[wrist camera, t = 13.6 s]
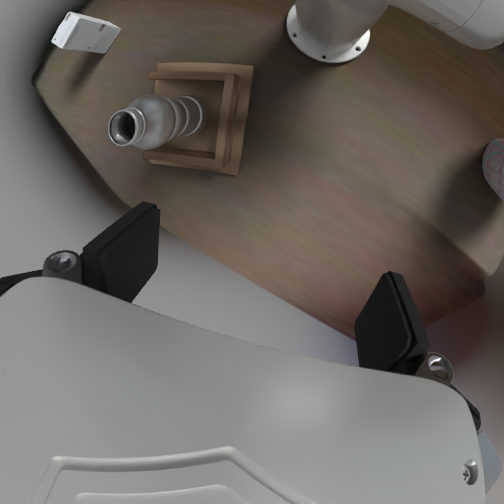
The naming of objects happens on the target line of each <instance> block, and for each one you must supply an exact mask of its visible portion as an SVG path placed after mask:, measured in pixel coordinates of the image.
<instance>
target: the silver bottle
mask: <svg viewBox="0 0 504 504" xmlns="http://www.w3.org/2000/svg"><path fill="white" fill-rule="evenodd" d="M208 120H209V109H208V106H207V104H206V103H205V102H204V100H202V99H201V98H199V97H197V96H195V95H183V96H179V97H177V98H167V97H164V96H161V95H157V94H145V95H142V96H140V97H139V98H137V99H135V100H134V101H133V102H132V103H130V105H129V106H128V107H127V108H126V109H123V110H119V111H117V112H116V113H114V114H113V115H112V117H111V118H110V121H109V124H108V134H109V137H110V139H111V140H112V142H113V143H114V144H116V145H118V146H127V145H134V146H136V147H138V148H142V149H154V148H157V147H159V146H161V145H163V144H164V143H166V142H167V141H168V140H170V139H171V138H174V137H176V136H181V137H190V136H194V135H196V134H198V133H199V132H200V131H202V130H203V129H204V128H205V126H206V125H207V123H208Z"/></svg>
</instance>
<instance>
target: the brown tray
mask: <svg viewBox="0 0 504 504" xmlns="http://www.w3.org/2000/svg"><path fill="white" fill-rule="evenodd" d="M254 69H255V67H254V66H249V65H238V64H223V63H190V62H187V63H158V64H157V72H150V74H149V79H150V80H155V89H154V94H157V95H161V96H164V97H167V98H177V97H179V96H183V95H195V96H197V97H199V98H201V99H202V100H204V102H205V103H206V104H207V106H208V109H209V120H208V123H207V125H206V126H205V128H204V129H203V130H202V131H200V132H199V133H198V134H196V135H194V136H190V137H181V136H176V137H174V138H171V139H170V140H168V141H167V142H166V143H164V144H163V145H161V146H159V147H157V148H154V149H149V150H146V151H144V152H143V159H150V163H152V164H161V165H169V166H177V167H185V168H192V169H199V170H206V171H213V172H219V173H225V174H231V175H237V176H238V175H239V171H240V164H241V156H242V149H243V142H244V135H245V128H246V121H247V115H248V108H249V101H250V95H251V88H252V82H253V76H254Z"/></svg>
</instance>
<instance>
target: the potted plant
mask: <svg viewBox="0 0 504 504" xmlns="http://www.w3.org/2000/svg"><path fill="white" fill-rule="evenodd" d="M482 169H483V175H484V177H485V179H486V181H487V182H488V184H489V185H490V186H491V188H492V189H493V190H494V191H495V192H496V194H497V195H498V196H499V197H500V199H501V200H502V201H503V202H504V138H500V139H495V140H493V141H491V142H490V143H489V144H488V146H487V147H486V149H485V151H484V154H483V161H482Z"/></svg>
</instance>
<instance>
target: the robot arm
mask: <svg viewBox="0 0 504 504" xmlns="http://www.w3.org/2000/svg"><path fill="white" fill-rule="evenodd" d="M388 4H389V5H393V6H396V7H398V8H400V9H402V10H404V11H406V12H408V13H410V14H412V15H414V16H416V17H418V18H420V19H421V20H423V21H425V22H427V23H429V24H430V25H432V26H434V27H436V28H437V29H439V30H441V31H442V32H444V33H446V34H447V35H449V36H450V37H452V38H454V39H456V40H457V41H459V42H461V43H463V44H465V45H467V46H469V47H472V48H475V49H490V48H493V47H496V46H497V45H499V44H501V43H502V42H503V41H504V0H295V4H294V5H293V6H292V8H291V9H290V11H289V13H288V16H287V31H288V34H289V37H290V38H291V40H292V42H293V43H294V45H295V46H296V47H297V48H298V49H299V50H300V51H301V52H302V53H304V54H305V55H307V56H309V57H310V58H313V59H315V60H318V61H321V62H326V63H342V62H347V61H350V60H352V59H354V58H356V57H357V56H359V55H360V54H361V53H362V52H363V51H364V50H365V48H366V47H367V45H368V42H369V39H370V28H371V27H372V25H373V24H374V23H375V22H376V21H377V20H378V19H379V18H380V17H381V15H382V14H383V13H384V12H385V10H386V9H387V7H388ZM293 35H296V37H293ZM356 49H358V50H359V51H356ZM322 56H325V57H326V58H325V59H323V58H322ZM159 225H160V209H157V205H156V204H152V203H148V202H144V201H143V202H141V203H140V204H139V205H137V206H136V207H134V208H133V209H132V210H130V211H129V212H128V213H126V214H125V215H124V216H122V217H121V218H120V219H118V220H117V221H116V222H114V223H113V224H112V225H111V226H109V227H108V228H107V229H106V230H104V231H103V232H102V233H100V234H99V235H98V236H97V237H95V238H94V239H93V240H92V241H90V242H89V243H88V244H87V245H86V246H84V247H83V253H82V254H80V255H78V254H77V253H76V252H74V251H70V250H62V251H57V252H55V253H53V254H51V255H50V256H48V257H47V258H46V260H45V261H44V264H43V269H42V270H37V271H32V272H27V273H21V274H16V275H12V276H6V277H2V278H0V504H486V499H485V495H486V493H487V492H488V491H489V489H490V488H491V486H492V485H493V484H494V482H495V481H496V480H497V478H498V477H499V475H500V472H501V461H500V459H499V456H498V455H497V453H496V451H495V449H494V448H493V446H492V444H491V442H490V441H489V439H488V437H487V436H486V434H485V432H484V431H483V429H482V430H481V431H479V428H480V425H481V419H480V413H479V411H478V410H477V408H475V407H474V406H473V405H472V404H471V403H470V402H469V401H468V400H467V399H466V398H465V397H464V396H463V395H462V394H461V393H460V392H459V391H458V390H457V389H456V388H455V387H453V386H452V384H451V382H452V380H453V375H454V374H453V369H452V366H451V365H450V363H449V362H448V360H447V359H446V358H444V357H443V356H442V355H440V354H438V353H433V352H432V353H429V354H428V352H427V349H428V348H429V346H430V343H429V340H428V337H427V334H426V332H425V329H424V326H423V324H422V321H421V318H420V316H419V313H418V311H417V308H416V306H415V304H414V301H413V299H412V296H411V294H410V292H409V290H408V287H407V285H406V283H405V281H404V278H403V276H402V275H401V274H398V273H395V272H391V271H388V272H387V273H384V274H383V275H382V276H381V278H380V280H379V282H378V284H377V285H376V287H375V289H374V291H373V292H372V294H371V296H370V298H369V299H368V301H367V303H366V304H365V306H364V308H363V310H362V311H361V313H360V314H359V316H358V318H357V319H356V322H355V335H356V343H357V350H358V358H359V367H358V366H352V365H347V364H342V363H337V362H331V361H327V360H322V359H317V358H312V357H308V356H303V355H299V354H295V353H291V352H286V351H282V350H278V349H274V348H270V347H266V346H262V345H258V344H255V343H251V342H248V341H243V340H240V339H237V338H233V337H230V336H227V335H223V334H220V333H217V332H213V331H210V330H207V329H204V328H201V327H198V326H194V325H191V324H188V323H185V322H182V321H179V320H176V319H174V318H171V317H168V316H165V315H162V314H159V313H156V312H153V311H151V310H148V309H145V308H142V307H140V306H137V305H135V304H132V301H133V300H134V298H135V297H136V296H137V295H138V293H139V292H140V291H141V289H142V288H143V287H144V285H145V284H146V283H147V281H148V280H149V279H150V278H151V276H152V275H153V274H154V272H155V271H156V269H157V265H158V243H159Z"/></svg>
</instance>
